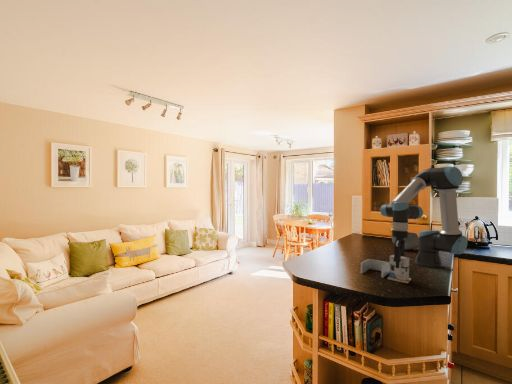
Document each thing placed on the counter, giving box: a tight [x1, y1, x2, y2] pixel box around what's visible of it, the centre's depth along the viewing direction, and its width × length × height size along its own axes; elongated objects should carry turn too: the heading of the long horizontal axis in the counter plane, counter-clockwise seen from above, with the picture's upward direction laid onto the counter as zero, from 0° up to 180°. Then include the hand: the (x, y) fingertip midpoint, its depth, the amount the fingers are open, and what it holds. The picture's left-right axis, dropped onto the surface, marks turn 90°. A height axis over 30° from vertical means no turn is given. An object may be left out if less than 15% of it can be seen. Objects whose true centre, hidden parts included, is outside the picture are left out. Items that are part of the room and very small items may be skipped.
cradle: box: [360, 258, 390, 279], centre depth 158 cm, size 14×12×6 cm
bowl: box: [391, 231, 419, 251], centre depth 235 cm, size 20×20×15 cm
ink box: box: [388, 254, 410, 281], centre depth 146 cm, size 8×5×12 cm, turn 37°
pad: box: [386, 276, 412, 284], centre depth 146 cm, size 9×10×1 cm
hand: (399, 272), depth 146 cm, fingers open, 6 cm apart
